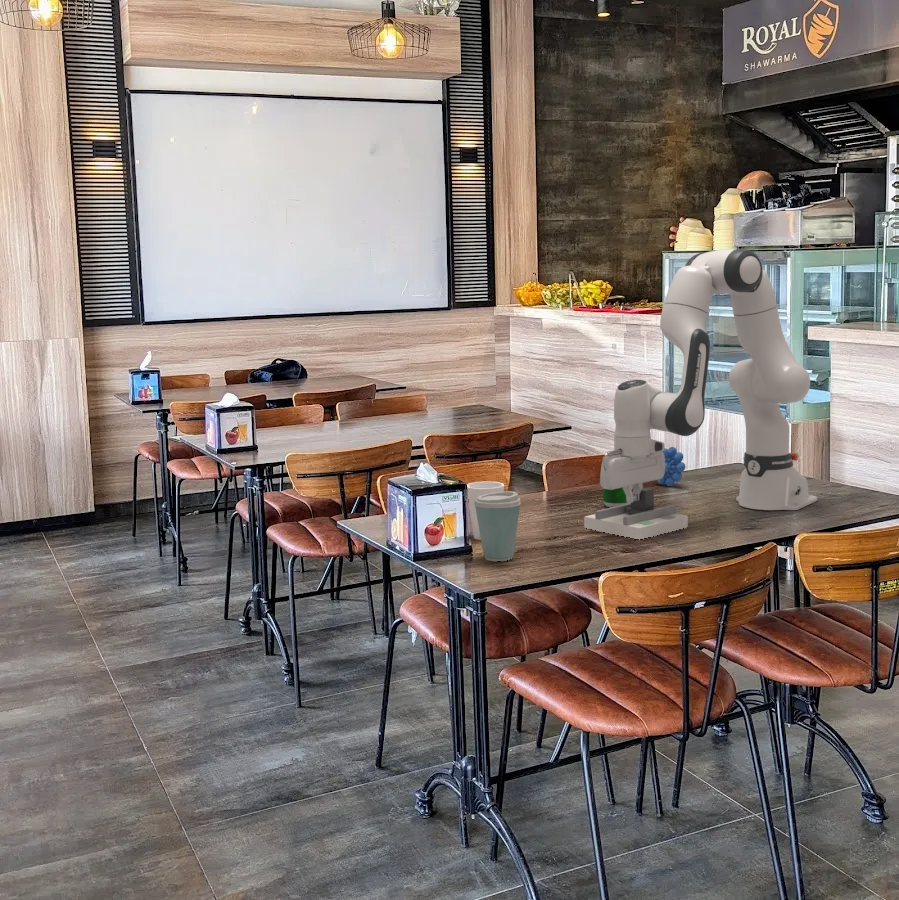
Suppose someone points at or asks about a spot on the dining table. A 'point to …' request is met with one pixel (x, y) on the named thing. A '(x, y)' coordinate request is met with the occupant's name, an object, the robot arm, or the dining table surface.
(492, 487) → the foam cup
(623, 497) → the soda can
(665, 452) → the grapes
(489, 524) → the disposable coffee cup
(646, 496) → the handle
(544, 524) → the dining table surface
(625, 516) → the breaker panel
